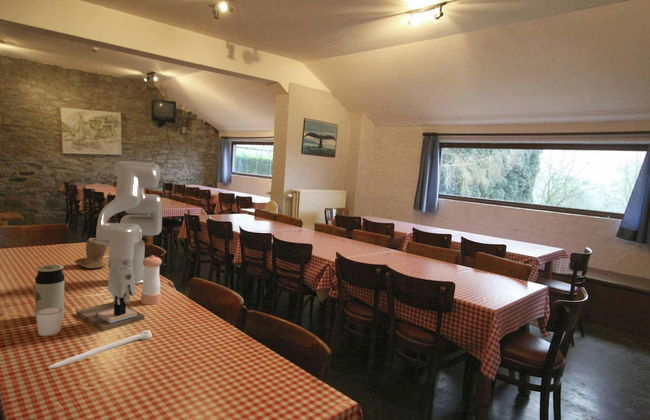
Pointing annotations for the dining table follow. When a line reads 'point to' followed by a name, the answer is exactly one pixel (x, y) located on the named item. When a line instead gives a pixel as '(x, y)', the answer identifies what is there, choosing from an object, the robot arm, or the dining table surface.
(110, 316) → the tile
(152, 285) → the salt shaker
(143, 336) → the white nail
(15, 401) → the dining table surface
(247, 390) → the dining table surface
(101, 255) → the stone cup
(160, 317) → the dining table surface
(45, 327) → the white cup
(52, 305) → the travel mug
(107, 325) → the board
